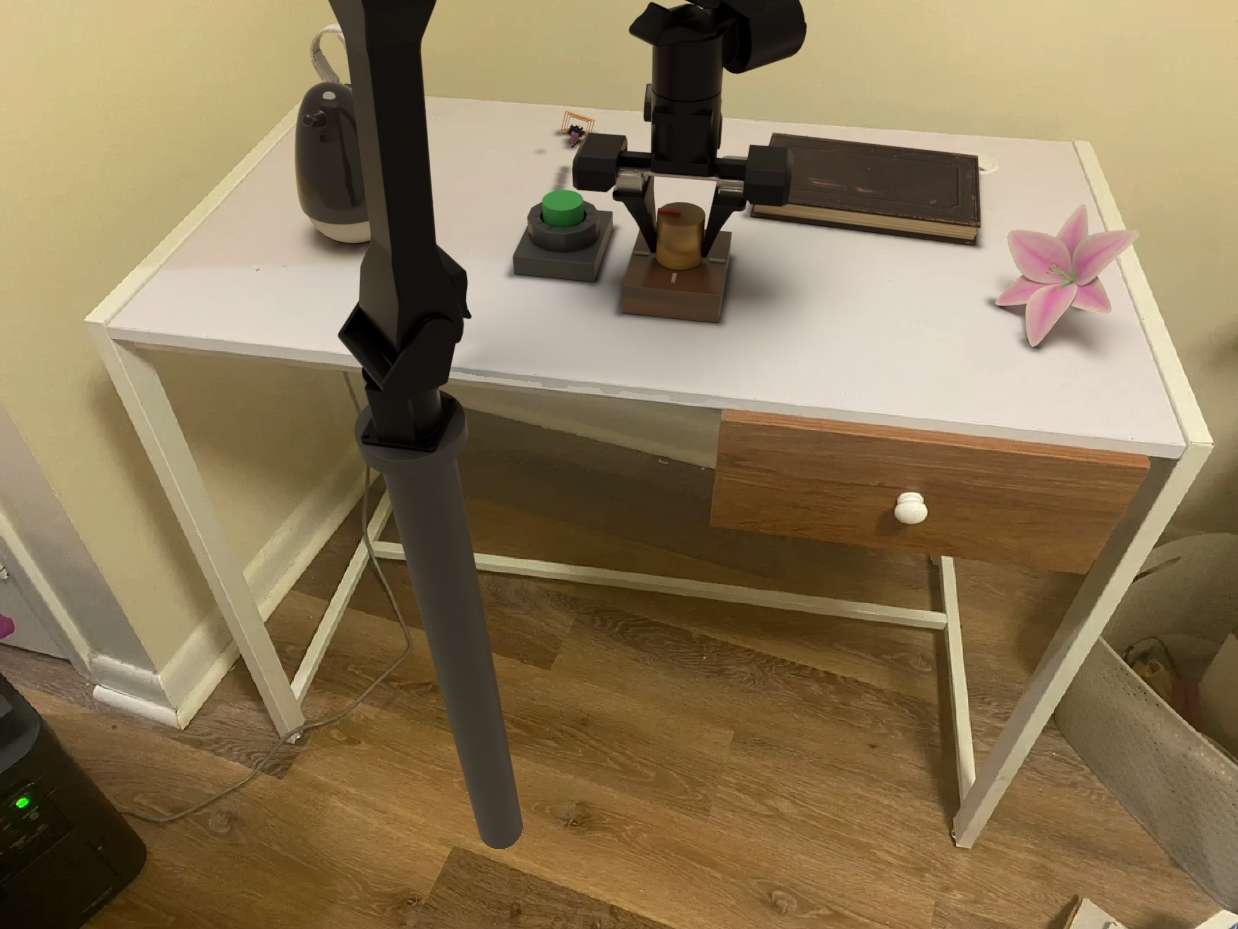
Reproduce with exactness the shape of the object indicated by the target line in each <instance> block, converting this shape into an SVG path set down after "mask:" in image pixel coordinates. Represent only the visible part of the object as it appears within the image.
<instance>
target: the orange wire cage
mask: <svg viewBox="0 0 1238 929" xmlns="http://www.w3.org/2000/svg"><path fill="white" fill-rule="evenodd" d="M568 116H569V117H568ZM571 118H573V119H577V120H580V121H583V122H585V123H587V126H586V129H585V130H584V127H583V126H581V124H579V125H577V124H576V125H573V124H570V119H571ZM595 121H596V119H595V118H590V117H588V116H586V115H585V116H584V115H581V114H578V113H575V112H573V111H569V110H565V111H564V115H563V119H562V124H561V127H560V131H562V132H566V134H568V136H569V143H570V146H572V147H573V146H574V145H575V144H576V143H578V140H579V139H580V138H581V139H583V136H584V135H585V136H586V135H587V134H588V133H593V129H594V126H595ZM569 124H570V125H569ZM566 125H567V126H566ZM591 125H592V126H591ZM568 126H569V127H568Z"/></svg>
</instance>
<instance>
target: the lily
mask: <svg viewBox="0 0 1238 929" xmlns="http://www.w3.org/2000/svg"><path fill="white" fill-rule="evenodd" d="M1139 235H1140V232H1139V231H1138V230H1136V229H1115V230H1108V231H1107V230H1106V231H1101V232H1095V233H1091V234H1089V218H1088V210H1087V206H1086V205H1085V204H1084V203H1083V204H1080V205H1079V206H1078V207H1077V208H1076V209H1075V210H1074V211H1073V212H1072V213H1071V215H1070V216H1069V217H1068V218H1067V220H1066V221H1065V222H1064V224H1063V225H1062V226H1061V228H1060V229H1059V231H1058V233H1057V235H1056V236H1054V235H1051V234H1048V233H1046V232H1041V231H1035V230H1025V229H1013V230H1011V231H1009V232H1008V233H1007V235H1006V241H1007V246H1008V249H1009V252H1010V255H1011V258H1012V260H1013V263H1014V264H1015V267H1016V268H1017V269H1018V271H1019V273H1020V274H1021V275H1020V276H1019V277H1018V278H1016V279H1015V280H1014V281H1012V282H1011V284H1009V285H1008V286H1007V287H1006V288H1005V289H1004V290H1003V292H1001V294H1000V295H999V296H998V297H997V299H996V300H995V303H994V304H995V305H996V306H1018V305H1020V306H1021V305H1026V306H1025V329H1026V335H1027V340H1028V343H1029V345H1030V346H1031V347H1032V348H1034V347H1036V346H1038V345H1039V344H1040V343H1041V342H1042V341H1043V339H1044V338H1045V337H1046V336H1047V335H1048V333H1049V332H1050V330H1051V329H1053V327H1054V325H1055V324H1056V323H1057V321H1058V320H1059V319H1060V318H1061V317H1062V315H1063V314H1064V313H1065V312H1066V310H1068V308H1069V307H1070V306H1071V307H1073V308H1076V309H1079V310H1083V311H1087V312H1093V313H1099V314H1110V313H1112V310H1113V309H1112V308H1113V307H1112V305H1111V301H1110V298H1109V296H1108V294H1107V291H1106V289H1105V287H1104V285H1103V283H1102V281H1101V279H1100V278H1099V275H1100V274H1101V273H1102V272H1103V271H1104V270H1105V269H1106V268H1107V267H1108V266H1109V265H1110V264H1111V263H1113V262H1114V261H1115V260H1116V259H1117V258H1118V257H1119V256H1120V255H1122V253H1124V252H1125V251H1126V250H1127V249H1128V248H1130V246H1131V245H1132V244H1133V243H1134V242H1135V241H1136V240H1137V239H1138V238H1139Z"/></svg>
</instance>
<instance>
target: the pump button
mask: <svg viewBox="0 0 1238 929" xmlns="http://www.w3.org/2000/svg"><path fill="white" fill-rule="evenodd" d="M583 200H584V198H583V196H582V195H581V194H580V193H579V192H577V191H575V190H570V189H557V190H553V191H549V192H548V193H546V194H544V196H543V197H542V199H541V202H542V209H543V220H544V222H545V223H546V224H548V225H550V226H552V227H562V228H566V227H571V226H576V225H578V224H580V223H581V222H582V221H583V219H584V206H583Z"/></svg>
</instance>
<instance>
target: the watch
mask: <svg viewBox="0 0 1238 929" xmlns="http://www.w3.org/2000/svg"><path fill="white" fill-rule="evenodd" d="M325 34H337V35H336V37H337V39H338V40H339V41H340V42H341V44H342V45H343V49H344V51H345V54H346V55H347V51H346V44H345V39H344V36H343V33H342V30H341V28H340V25H339V23H338V22H334V23H330V24H328V25H326V26H324V27H323V28H322V29H321V30H320V31H319V32H318V33H316V34H315V36H314V37H313V38H312V39H311V42H310V46H309V54H310V59H311V60H310V61H311V64H312V66H313V68H314V71H315V72H316V73H317V75H318V77H319V78H320V80H321V82H327V81H331V82H337V83H341V84H343V85H345V86H347V87H348V88H350V89H351V83H345V82H344V83H343V82H342V81H340V80H341V78H340V77H339V75H338V74H337V73H336V71H335V70H334V68H332V66H331V64H330V63H329V61H328V59H327V57H326V55H325V54H323V50H322V48H321V47H320V45H321V38H322V37H323V35H325ZM351 90H352V89H351Z"/></svg>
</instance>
